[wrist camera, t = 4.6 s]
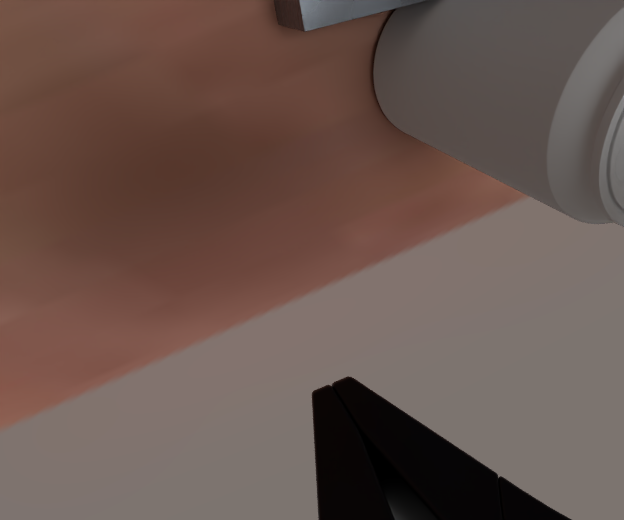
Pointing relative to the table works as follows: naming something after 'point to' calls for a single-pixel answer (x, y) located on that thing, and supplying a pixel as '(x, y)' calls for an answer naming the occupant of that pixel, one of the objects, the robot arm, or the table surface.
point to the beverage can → (515, 94)
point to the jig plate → (330, 11)
